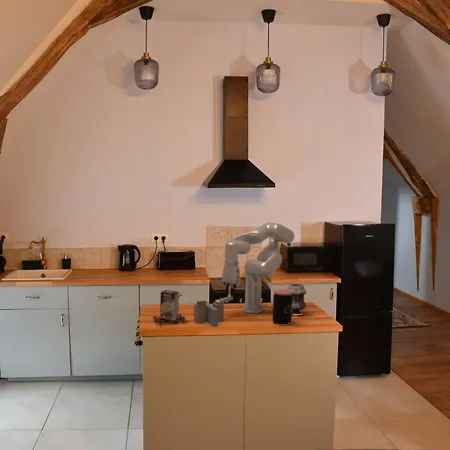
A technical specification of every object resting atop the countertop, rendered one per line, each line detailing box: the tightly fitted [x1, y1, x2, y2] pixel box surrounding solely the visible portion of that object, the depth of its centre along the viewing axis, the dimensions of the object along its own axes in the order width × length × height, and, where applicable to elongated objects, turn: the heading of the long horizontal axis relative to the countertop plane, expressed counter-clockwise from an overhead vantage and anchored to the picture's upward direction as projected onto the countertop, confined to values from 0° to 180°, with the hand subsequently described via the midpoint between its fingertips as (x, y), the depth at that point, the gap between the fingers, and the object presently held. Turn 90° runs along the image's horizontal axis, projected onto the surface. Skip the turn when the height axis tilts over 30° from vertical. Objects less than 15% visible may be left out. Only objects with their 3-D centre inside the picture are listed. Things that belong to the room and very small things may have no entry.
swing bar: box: [214, 285, 234, 304], centre depth 292 cm, size 14×4×8 cm, turn 142°
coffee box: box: [159, 289, 180, 320], centre depth 287 cm, size 9×6×16 cm
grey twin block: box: [193, 300, 225, 327], centre depth 287 cm, size 16×20×12 cm
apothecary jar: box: [286, 283, 307, 314], centre depth 307 cm, size 12×12×18 cm
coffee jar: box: [271, 289, 293, 324], centre depth 288 cm, size 11×11×18 cm
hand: (230, 294), depth 297 cm, fingers closed on swing bar, 2 cm apart
